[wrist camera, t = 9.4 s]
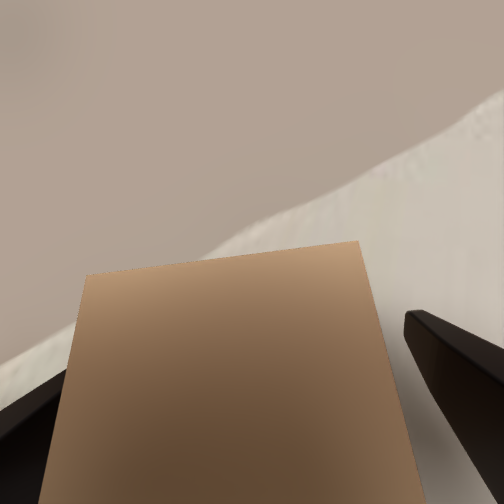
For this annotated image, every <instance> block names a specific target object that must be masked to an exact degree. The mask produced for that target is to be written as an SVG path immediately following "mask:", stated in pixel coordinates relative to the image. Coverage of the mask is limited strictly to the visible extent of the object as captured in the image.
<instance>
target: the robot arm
mask: <svg viewBox="0 0 504 504" xmlns="http://www.w3.org/2000/svg"><path fill="white" fill-rule="evenodd" d="M404 338H405V341H406V343H407V345H408V347H409V349H410V351H411V353H412V356H413V358H414V360H415V362H416V364H417V366H418V368H419V370H420V372H421V374H422V376H423V378H424V381H425V383H426V385H427V387H428V389H429V391H430V393H431V394H432V396H433V398H434V399H435V401H436V403H437V405H438V406H439V408H440V409H441V411H442V413H443V414H444V416H445V418H446V419H447V421H448V423H449V424H450V426H451V428H452V429H453V431H454V433H455V434H456V436H457V438H458V439H459V441H460V442H461V444H462V446H463V447H464V449H465V451H466V452H467V454H468V456H469V457H470V459H471V461H472V462H473V464H474V466H475V467H476V469H477V470H478V472H479V474H480V475H481V477H482V479H483V480H484V482H485V484H486V485H487V487H488V489H489V490H490V492H491V494H492V495H493V497H494V499H495V500H496V502H497V503H498V504H504V349H503V348H501V347H499V346H497V345H495V344H492V343H490V342H488V341H486V340H484V339H482V338H480V337H478V336H476V335H474V334H472V333H470V332H468V331H465V330H463V329H461V328H459V327H457V326H455V325H453V324H451V323H449V322H447V321H445V320H443V319H441V318H439V317H436V316H434V315H432V314H430V313H428V312H426V311H424V310H411V311H407V312H406V314H405V322H404ZM66 370H67V369H65V370H64V371H62V372H61V373H59V374H57V375H56V376H54V377H53V378H51V379H50V380H48V381H46V382H45V383H43V384H42V385H40V386H39V387H37V388H35V389H34V390H32V391H31V392H29V393H28V394H26V395H25V396H23V397H21V398H20V399H18V400H17V401H15V402H14V403H12V404H10V405H9V406H7V407H6V408H4V409H3V410H1V411H0V504H38V502H39V497H40V493H41V488H42V483H43V479H44V474H45V469H46V464H47V460H48V455H49V450H50V445H51V441H52V436H53V431H54V427H55V422H56V417H57V412H58V408H59V403H60V398H61V393H62V389H63V384H64V379H65V375H66Z"/></svg>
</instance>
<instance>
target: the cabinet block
mask: <svg viewBox="0 0 504 504" xmlns="http://www.w3.org/2000/svg"><path fill="white" fill-rule="evenodd" d="M38 504H426V501H425V497H424V493H423V489H422V485H421V482H420V478H419V474H418V470H417V466H416V462H415V458H414V454H413V451H412V447H411V443H410V439H409V435H408V431H407V427H406V424H405V420H404V416H403V412H402V408H401V404H400V400H399V396H398V393H397V389H396V385H395V381H394V377H393V373H392V369H391V366H390V362H389V358H388V354H387V350H386V346H385V342H384V338H383V335H382V331H381V327H380V323H379V319H378V315H377V311H376V308H375V304H374V300H373V296H372V292H371V288H370V284H369V280H368V277H367V273H366V269H365V265H364V261H363V257H362V253H361V250H360V246H359V242H358V241H351V242H343V243H335V244H327V245H319V246H312V247H304V248H296V249H288V250H280V251H273V252H265V253H257V254H249V255H241V256H234V257H226V258H218V259H210V260H202V261H195V262H187V263H179V264H171V265H163V266H156V267H148V268H140V269H132V270H125V271H117V272H109V273H102V274H93V275H87V276H86V280H85V285H84V290H83V294H82V299H81V304H80V309H79V313H78V318H77V323H76V327H75V332H74V337H73V342H72V346H71V351H70V356H69V360H68V365H67V370H66V375H65V379H64V384H63V389H62V393H61V398H60V403H59V408H58V412H57V417H56V422H55V427H54V431H53V436H52V441H51V445H50V450H49V455H48V460H47V464H46V469H45V474H44V479H43V483H42V488H41V493H40V497H39V502H38Z"/></svg>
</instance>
